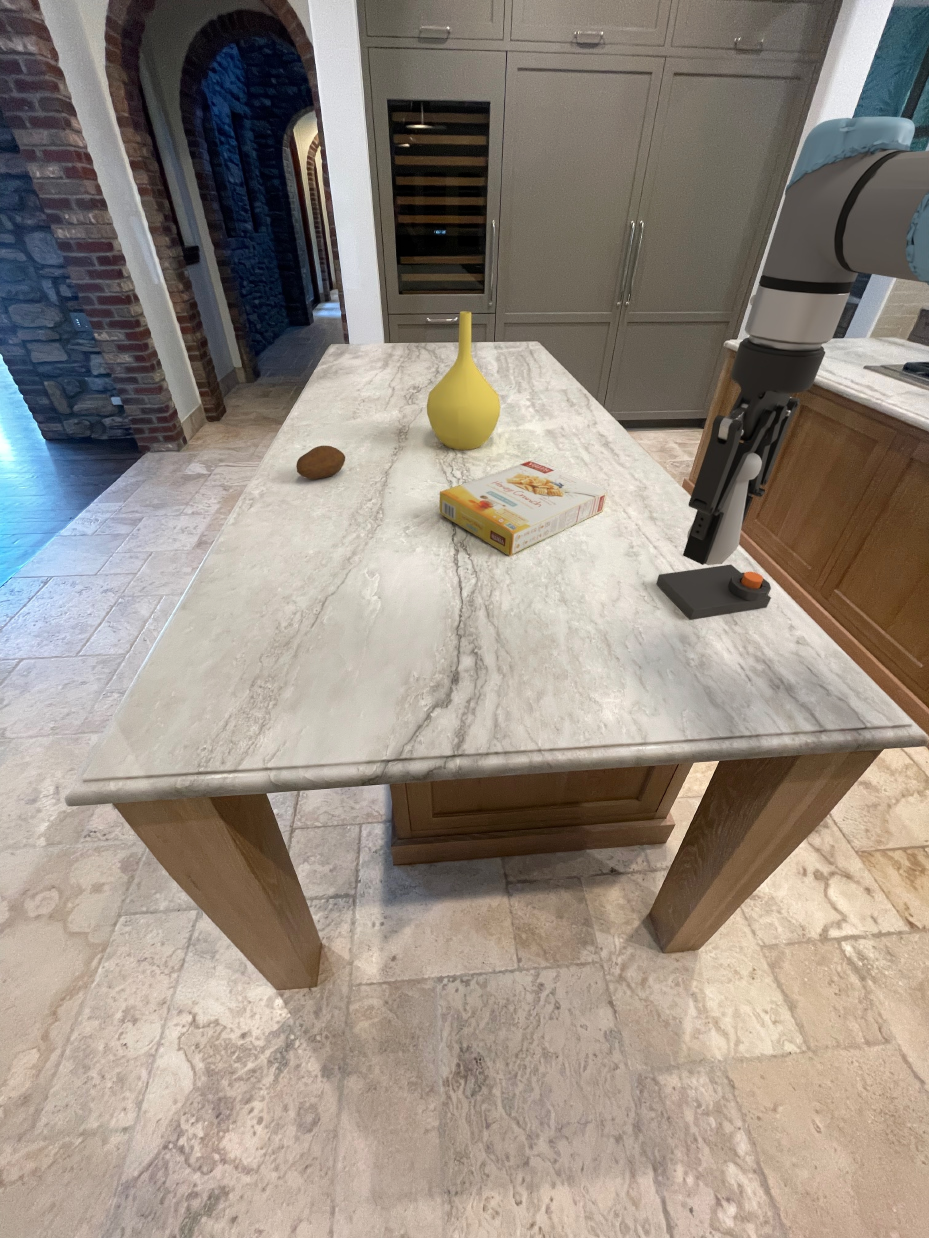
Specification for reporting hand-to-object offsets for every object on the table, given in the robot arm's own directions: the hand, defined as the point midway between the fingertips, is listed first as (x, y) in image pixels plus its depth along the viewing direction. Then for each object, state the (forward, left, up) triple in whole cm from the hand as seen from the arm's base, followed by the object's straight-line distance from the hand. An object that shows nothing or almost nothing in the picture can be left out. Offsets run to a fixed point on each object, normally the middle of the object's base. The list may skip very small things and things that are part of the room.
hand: (709, 550), depth 65 cm
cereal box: (+44, -13, -17) cm, 49 cm away
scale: (+5, -18, -17) cm, 25 cm away
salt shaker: (0, 0, -1) cm, 1 cm away
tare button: (0, -21, -14) cm, 25 cm away
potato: (+84, +11, -17) cm, 86 cm away
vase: (+82, -28, -17) cm, 88 cm away
